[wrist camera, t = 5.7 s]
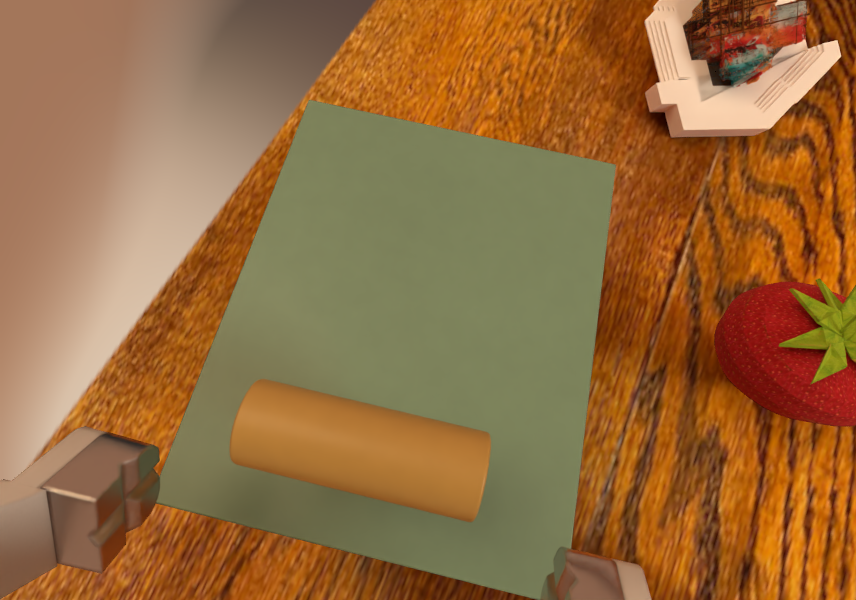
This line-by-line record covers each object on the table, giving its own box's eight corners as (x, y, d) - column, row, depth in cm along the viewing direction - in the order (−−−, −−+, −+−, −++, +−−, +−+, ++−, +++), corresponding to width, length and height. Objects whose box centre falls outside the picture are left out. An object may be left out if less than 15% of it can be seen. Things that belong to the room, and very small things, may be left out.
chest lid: (556, 601, 15) (652, 665, 9) (161, 501, 15) (13, 501, 9) (608, 176, 20) (689, 45, 14) (312, 113, 20) (275, -38, 15)
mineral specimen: (765, -29, 37) (849, -112, 30) (807, 129, 37) (903, 84, 30) (602, 8, 36) (650, -67, 29) (645, 169, 36) (703, 132, 29)
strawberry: (785, 466, 27) (987, 448, 17) (650, 386, 28) (772, 329, 19) (820, 371, 29) (1019, 309, 19) (692, 300, 30) (822, 209, 21)
